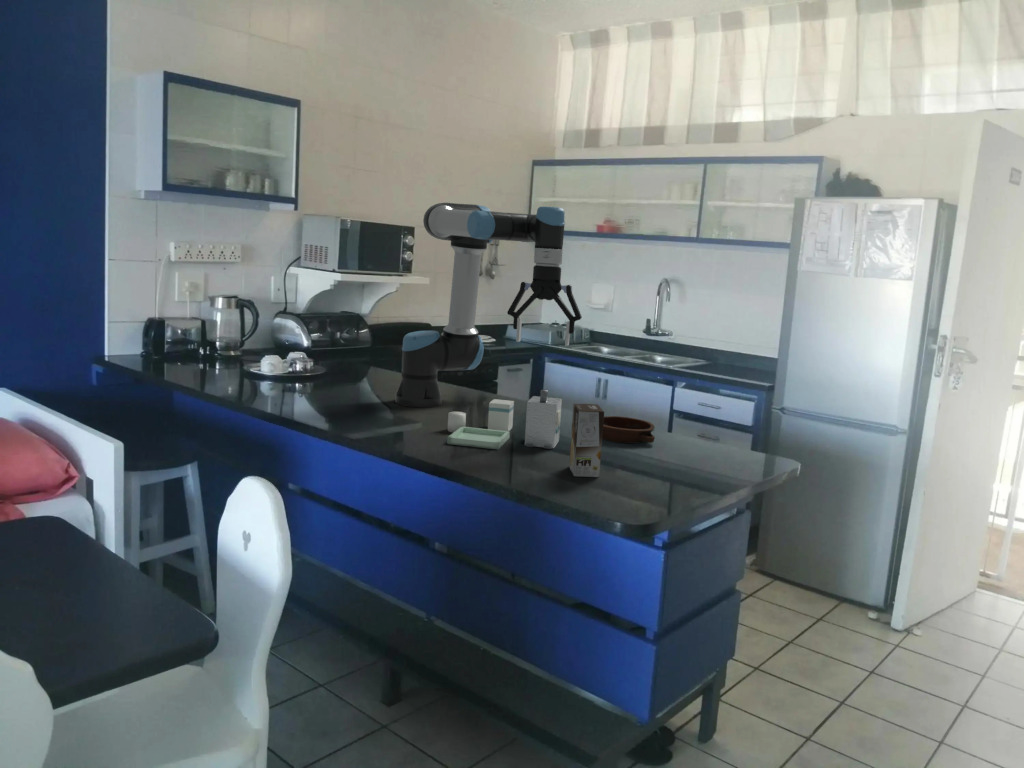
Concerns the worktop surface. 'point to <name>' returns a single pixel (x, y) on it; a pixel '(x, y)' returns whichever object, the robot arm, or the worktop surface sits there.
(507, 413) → the block
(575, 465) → the coffee box
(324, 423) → the worktop surface
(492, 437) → the tray
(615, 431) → the dish
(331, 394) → the worktop surface
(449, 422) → the cream knob
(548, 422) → the box
